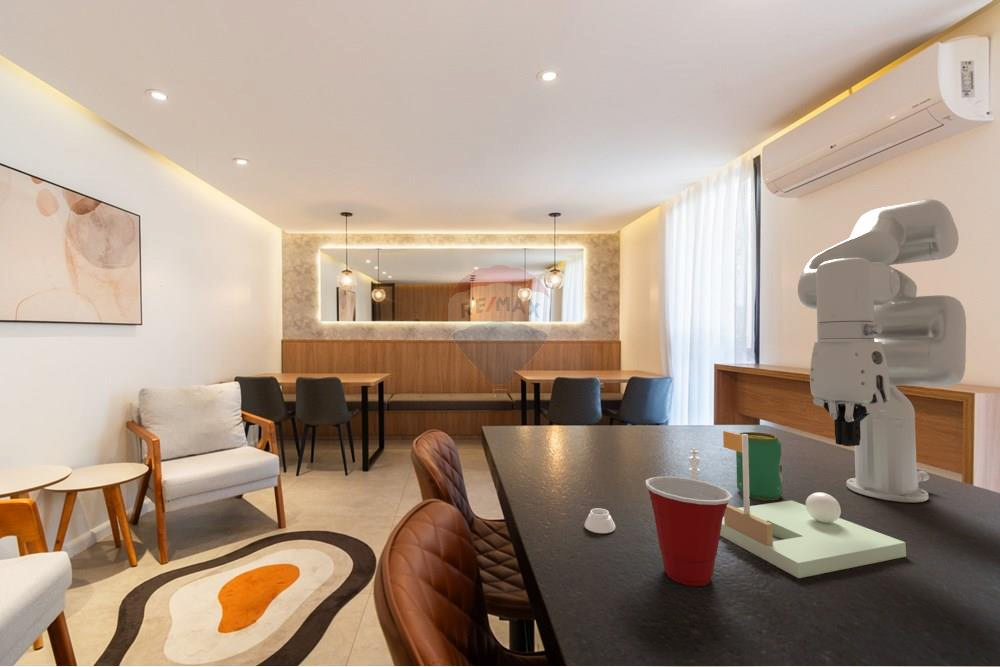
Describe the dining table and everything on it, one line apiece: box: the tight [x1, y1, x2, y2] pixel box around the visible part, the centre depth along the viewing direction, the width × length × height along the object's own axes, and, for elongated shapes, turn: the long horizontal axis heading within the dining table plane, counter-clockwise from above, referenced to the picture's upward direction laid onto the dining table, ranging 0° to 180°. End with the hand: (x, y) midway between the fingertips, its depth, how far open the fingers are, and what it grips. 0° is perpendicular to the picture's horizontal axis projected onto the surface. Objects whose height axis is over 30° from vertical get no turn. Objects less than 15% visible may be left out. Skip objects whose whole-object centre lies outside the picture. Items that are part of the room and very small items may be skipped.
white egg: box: [805, 491, 842, 523], centre depth 71 cm, size 5×5×5 cm
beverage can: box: [735, 431, 783, 501], centre depth 90 cm, size 8×8×12 cm
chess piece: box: [688, 447, 701, 481], centre depth 88 cm, size 5×5×10 cm
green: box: [720, 430, 907, 579], centre depth 70 cm, size 20×18×17 cm
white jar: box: [584, 507, 616, 535], centre depth 74 cm, size 5×3×5 cm
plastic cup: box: [645, 476, 734, 587], centre depth 59 cm, size 11×11×12 cm
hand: (847, 444), depth 73 cm, fingers closed
